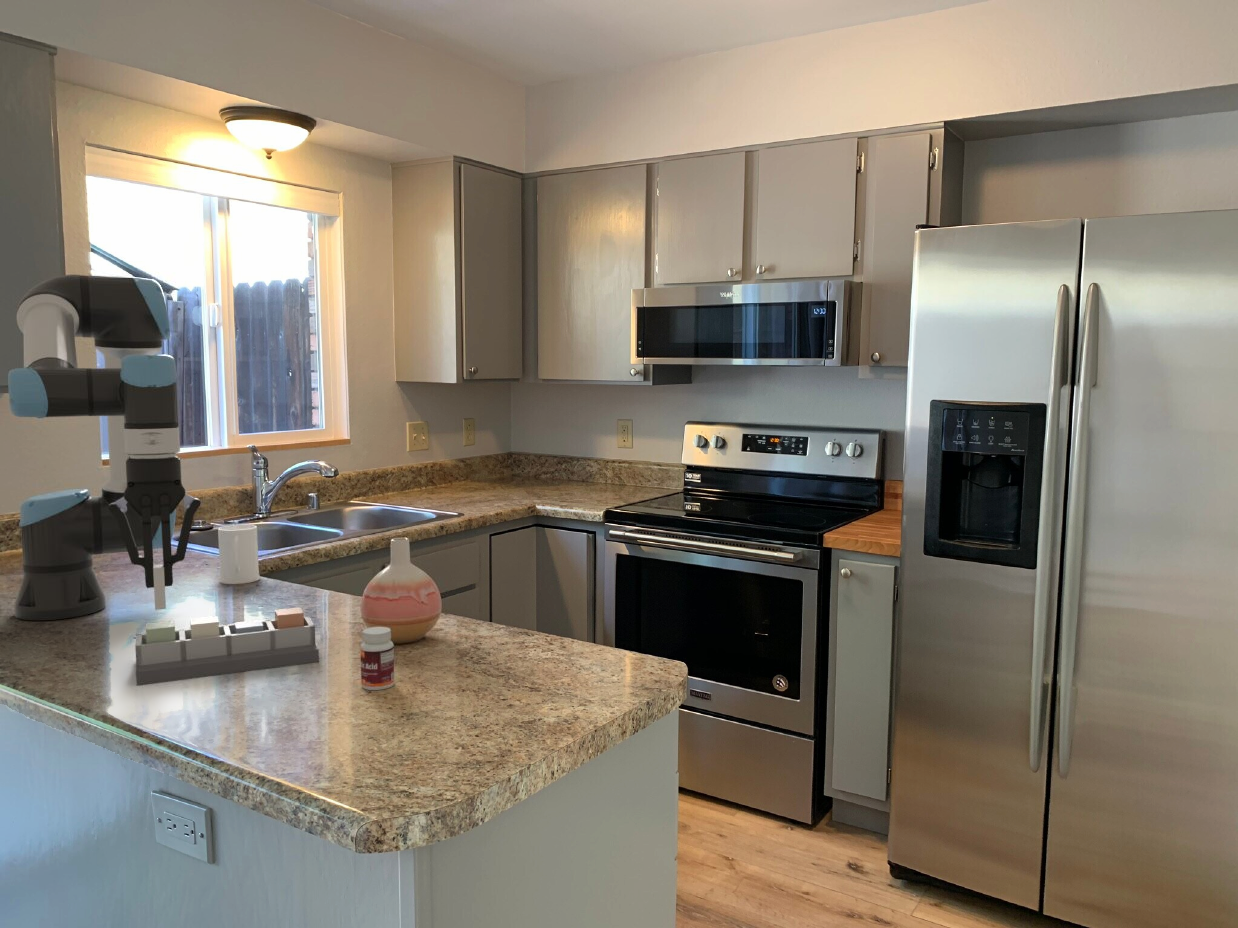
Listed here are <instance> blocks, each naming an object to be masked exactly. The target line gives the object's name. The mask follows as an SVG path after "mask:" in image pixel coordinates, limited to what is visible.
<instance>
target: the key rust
mask: <svg viewBox="0 0 1238 928" xmlns="http://www.w3.org/2000/svg"><path fill="white" fill-rule="evenodd" d="M304 616H305V615H304V612H303V609H302V608H301V607H292V608H279V609H274V619H275V628H276V629H283V628H292V627H301V626H304Z"/></svg>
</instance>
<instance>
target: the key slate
mask: <svg viewBox="0 0 1238 928" xmlns="http://www.w3.org/2000/svg"><path fill="white" fill-rule="evenodd" d="M261 621H262V620H261V619H254V620H246V621H238V622H234V623H233V624H234V626H235V634H239V633H248V632H257V631H263V624H262V622H261Z"/></svg>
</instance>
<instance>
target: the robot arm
mask: <svg viewBox="0 0 1238 928" xmlns="http://www.w3.org/2000/svg"><path fill="white" fill-rule="evenodd" d="M166 302H167V301H166V299H165V295H164V291H163V289H162V286H161V285H160V283H159V282H158V281H157V280H155V279H152V278H145V277H138V276H137V277H135V276H113V275H112V276H111V275H110V276H109V275H107V276H106V275H87V274H85V275H83V274H65V275H58V276H54V277H52V278H48V279H46V280H43V281H41V282H40V283H38V284H36V285H34V286H33V287H32V288H30V290H28V291H27V292H26V293H25V294H24V296H22V298H21V299H20V301H19V303H18V304H17V308H16V324H17V326H18V328H19V330H20V332H21V333H22V334H23V367H22V368H21V367H20V368H13V369H10V370H9V371H8V375H7V384H8V386H7V387H8V400H9V408H10V412H11V414H12V415H14V416H15V417H18V418H36V419H44V418H68V417H70V418H71V417H73V418H74V417H106V418H107V421H106V422H107V441H108V458H109V459H108V460H109V461H108V462H109V477H108V479H107V480H106V481H105V482H104V483H103V484H102V485H101V495H91V492H90V491H89V489H87V488H75V489H73V488H72V489H65V490H59V491H54V492H48V493H43V494H39V495H35V496H32V497H30V498H27V499H25V500H24V501H23V502H22V503H21V505H20V507H19V508H20V509H19V514H20V515H19V520H20V522H19V523H18V525H19V527H20V530H21V531H20V534H21V535H20V536H21V551H22V554H21V555H22V567H23V568H22V569H23V571H22V572H23V573H22V574H23V576H22V579H21V583H20V586H19V590H18V593H17V595H16V598H15V602H14V616H15V618H16V619H19V620H25V621H52V620H63V619H70V618H71V619H72V618H77V617H82V616H86V615H89V614H93V613H97V612H99V611H102V610H103V609H105V607H106V596H105V593H104V591H103V588H102V586H101V584H100V582H99V579H98V577H97V575H96V573H95V570H94V562H93V561H94V559H93V557H94V556H97V555H106V554H107V555H108V554H109V555H111V554H120V553H128V557H129V559H130V562H131V564H132V565H134V566H136V565H138V566H140V567H143V569H144V581H145V586H146V588H147V589H153V591H154V592H153V594H154V610H155V611H157V610H158V611H159V610H166V608H167V606H166V605H167V604H166V603H167V601H166V587H172V586H173V584H174V579H173V578H174V576H173V575H174V574H173V566H174V564H176V563H178V562H182V561H184V560H185V558H186V553H187V548H188V543H189V540H190V539H189V538H190V534H191V530H192V526H193V521H194V517H195V514H196V512H197V511H198V509H199V508H200V506H201V504H202V503H201V500H200V499H199V498H197V497H193V496H191V494H187V493H186V489H185V487H184V486H183V484H182V483H183V481H182V466H181V465H182V463H181V458H180V457H179V456H177V454H178V453H179V452H181V442H180V427H179V415H178V412H179V411H178V409H179V407H178V406H179V405H178V379H179V377H178V373H177V367H176V361H175V358H174V357H173V356H171V355H169V354H158V353H159V352H160V351H161V350H162V349H163V340H164V341H166V340H167V339H168V340H169V338H170V337H171V327H170V318H169V313H168V308H167V303H166ZM75 338H91V339H92V338H93V339H94V348H95V349H96V350H97V351H98V352H99V353H100V354H101V355H103V357H104V368H91V367H90V368H89V367H88V368H85V367H84V368H83V367H82V368H80V367H78V358H77V356H78V355H77V348H76V340H75ZM182 501H183V503H182V504H183V505H182V506H183V508H184V509H185V511H184V514H183V515H184V516H183V519H182V525H181V529H180V533H179V538H178V543H177V548H176V552H174V553H172V540H173V536H174V533H175V532H174V531H175V524H176V516H177V507H178V506H179V504H180V503H181V502H182ZM159 549H162V557H163V558H162V561H163V563H162V564H154V550H159ZM142 551H143V555H140V553H139V552H142Z"/></svg>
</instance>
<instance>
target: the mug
mask: <svg viewBox="0 0 1238 928" xmlns="http://www.w3.org/2000/svg"><path fill="white" fill-rule="evenodd" d="M217 534H218V535H217V536H218V555H219V556H218V558H219V579H218V582H219V584H223V585H244V584H249V583H250V584H251V583H254V582H257V581H259V580H260V579H261V575H260V572H259V571H260V569H259V548H258V544H259V543H258V526H257V525H254V524H234V525H233V524H232V525H226V526H225V525H224V526H220V527H219V528H218V529H217Z"/></svg>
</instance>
